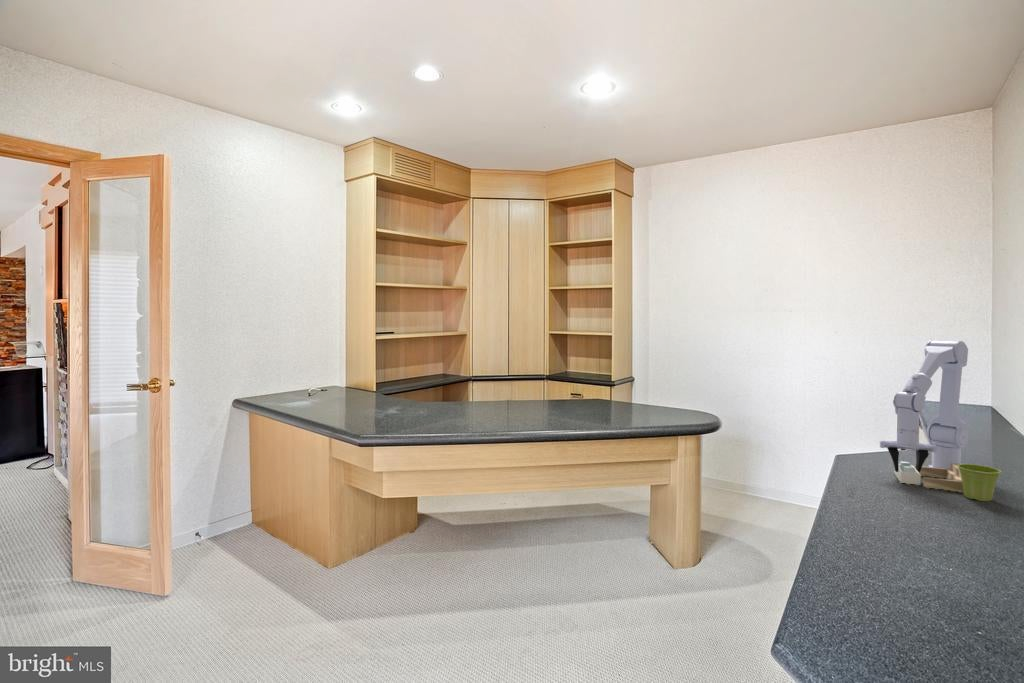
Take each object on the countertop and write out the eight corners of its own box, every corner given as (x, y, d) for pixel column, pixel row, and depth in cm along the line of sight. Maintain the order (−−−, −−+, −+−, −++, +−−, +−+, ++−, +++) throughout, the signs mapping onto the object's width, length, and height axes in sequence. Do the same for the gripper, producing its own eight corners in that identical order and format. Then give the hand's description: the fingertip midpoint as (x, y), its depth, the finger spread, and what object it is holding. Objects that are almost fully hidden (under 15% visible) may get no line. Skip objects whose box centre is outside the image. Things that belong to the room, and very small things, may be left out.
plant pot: (983, 493, 158) (983, 464, 158) (1009, 504, 149) (1010, 473, 148) (948, 492, 159) (949, 463, 159) (972, 503, 149) (973, 472, 149)
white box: (893, 473, 178) (894, 459, 178) (912, 475, 176) (912, 461, 176) (900, 483, 168) (901, 468, 168) (920, 485, 166) (920, 470, 165)
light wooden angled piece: (913, 474, 178) (913, 459, 178) (961, 479, 172) (962, 463, 172) (924, 487, 163) (924, 471, 163) (977, 493, 157) (978, 476, 157)
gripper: (882, 429, 171) (881, 472, 172) (939, 434, 164) (938, 478, 165) (879, 426, 177) (878, 467, 178) (934, 430, 171) (933, 472, 171)
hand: (906, 472), depth 172 cm, fingers closed on white box, 5 cm apart
